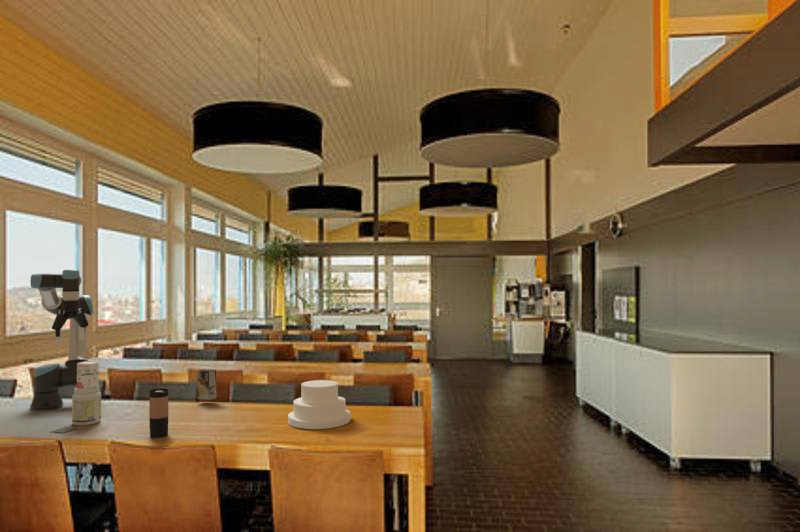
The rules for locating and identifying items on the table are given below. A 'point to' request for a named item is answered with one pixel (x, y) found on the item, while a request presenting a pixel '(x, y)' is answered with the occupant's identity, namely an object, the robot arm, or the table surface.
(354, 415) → the table surface
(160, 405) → the travel mug
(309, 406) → the cake
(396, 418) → the table surface
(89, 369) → the ink box
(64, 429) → the charcoal rubber mat
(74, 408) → the supplement tub
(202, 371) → the coffee box
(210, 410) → the table surface
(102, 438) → the table surface
